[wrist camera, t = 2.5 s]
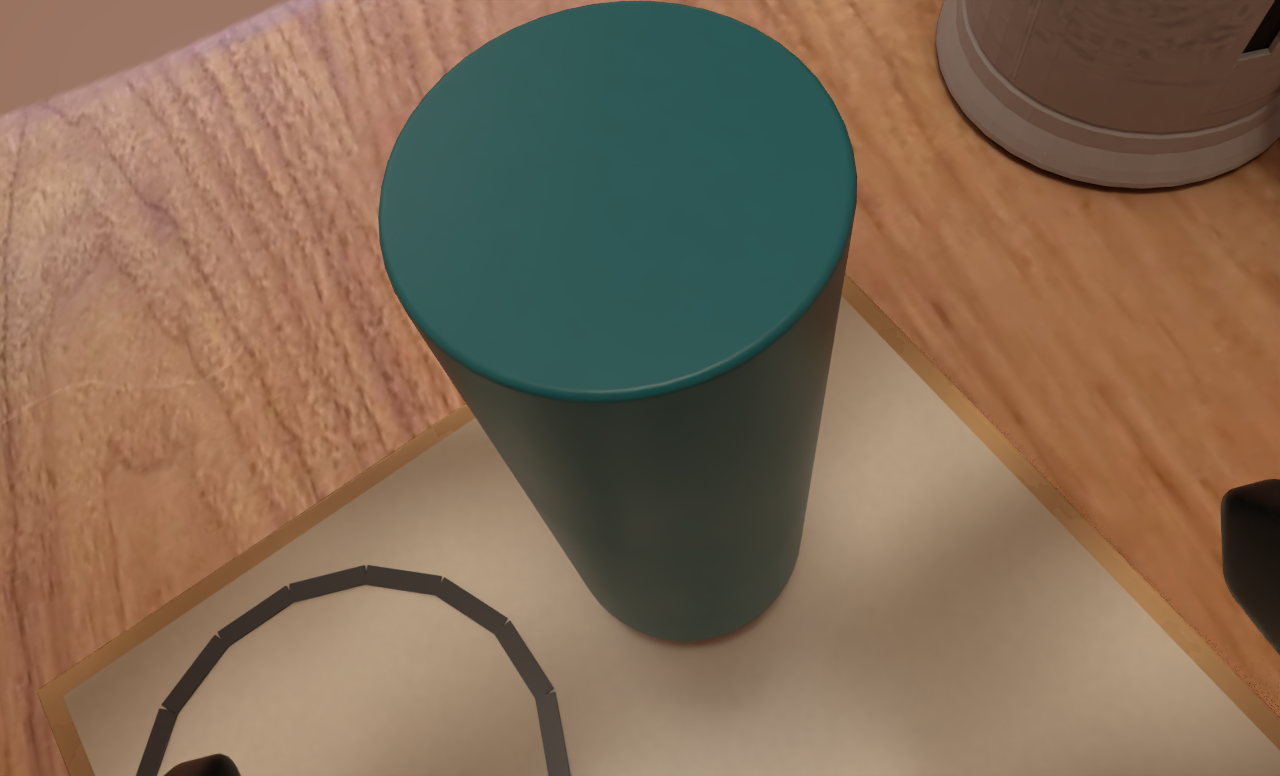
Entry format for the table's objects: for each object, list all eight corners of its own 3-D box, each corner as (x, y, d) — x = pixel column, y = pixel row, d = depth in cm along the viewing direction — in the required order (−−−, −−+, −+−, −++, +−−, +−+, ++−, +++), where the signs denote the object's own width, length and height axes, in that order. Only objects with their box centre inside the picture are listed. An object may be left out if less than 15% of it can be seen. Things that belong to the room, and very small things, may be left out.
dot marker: (845, 561, 19) (965, 206, 8) (664, 698, 19) (540, 502, 8) (710, 399, 21) (665, -70, 10) (540, 519, 20) (295, 153, 9)
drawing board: (1340, 798, 17) (1365, 796, 17) (428, 1623, 14) (412, 1663, 14) (771, 211, 24) (772, 193, 23) (53, 694, 21) (29, 689, 20)
